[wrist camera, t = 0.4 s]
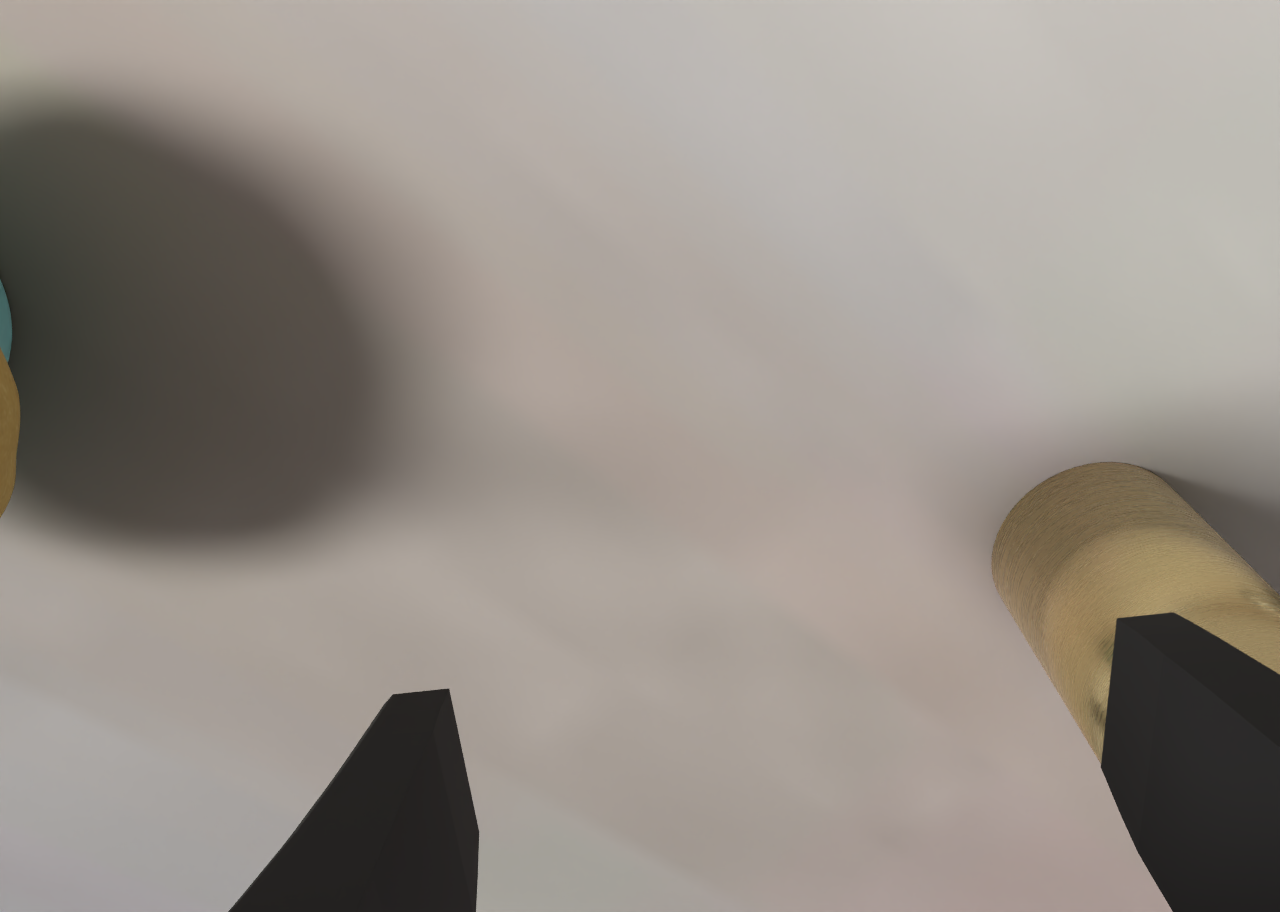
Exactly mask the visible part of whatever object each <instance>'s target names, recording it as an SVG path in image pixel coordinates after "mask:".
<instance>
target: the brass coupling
mask: <svg viewBox="0 0 1280 912" xmlns="http://www.w3.org/2000/svg"><path fill="white" fill-rule="evenodd" d="M992 574H993V580H994V583H995V586H996V589H997V591H998V593H999V595H1000V597H1001V598H1002V600H1003V602H1004V603H1005V605H1006V607H1007V608H1008V610H1009V612H1010V613H1011V615H1012V617H1013V618H1014V620H1015V622H1016V623H1017V625H1018V627H1019V628H1020V630H1021V632H1022V633H1023V635H1024V637H1025V638H1026V640H1027V642H1028V643H1029V645H1030V647H1031V648H1032V650H1033V652H1034V653H1035V655H1036V657H1037V658H1038V660H1039V662H1040V663H1041V665H1042V667H1043V668H1044V670H1045V672H1046V673H1047V675H1048V677H1049V678H1050V680H1051V682H1052V683H1053V685H1054V687H1055V688H1056V690H1057V692H1058V693H1059V695H1060V697H1061V698H1062V700H1063V702H1064V703H1065V705H1066V706H1067V708H1068V710H1069V711H1070V713H1071V715H1072V716H1073V718H1074V720H1075V721H1076V723H1077V725H1078V726H1079V728H1080V730H1081V731H1082V733H1083V735H1084V736H1085V738H1086V740H1087V741H1088V743H1089V745H1090V746H1091V748H1092V750H1093V751H1094V753H1095V755H1096V756H1097V758H1098V760H1099V761H1100V763H1101V760H1102V751H1103V741H1104V732H1105V723H1106V713H1107V704H1108V695H1109V685H1110V676H1111V667H1112V657H1113V648H1114V639H1115V629H1116V620H1117V618H1124V617H1133V616H1143V615H1152V614H1162V613H1171V612H1174V613H1176V614H1178V615H1180V616H1182V617H1183V618H1185V619H1187V620H1189V621H1191V622H1193V623H1194V624H1196V625H1198V626H1200V627H1201V628H1203V629H1205V630H1207V631H1208V632H1210V633H1212V634H1213V635H1215V636H1217V637H1219V638H1220V639H1222V640H1224V641H1225V642H1227V643H1229V644H1230V645H1232V646H1234V647H1235V648H1237V649H1239V650H1240V651H1242V652H1244V653H1245V654H1247V655H1248V656H1250V657H1252V658H1253V659H1255V660H1257V661H1258V662H1260V663H1262V664H1263V665H1265V666H1267V667H1268V668H1270V669H1272V670H1273V671H1275V672H1277V673H1278V674H1280V595H1279V594H1278V593H1277V592H1276V591H1275V590H1274V589H1273V588H1272V587H1271V586H1270V585H1269V584H1268V583H1267V582H1266V581H1265V580H1264V579H1263V578H1262V577H1261V576H1260V575H1259V574H1258V573H1257V572H1256V571H1255V570H1254V569H1253V568H1252V567H1251V566H1250V565H1249V564H1248V563H1247V562H1246V561H1245V560H1244V559H1243V558H1242V557H1241V556H1240V555H1239V554H1238V553H1237V552H1236V551H1235V550H1234V549H1233V548H1231V547H1230V546H1229V545H1228V544H1227V543H1226V542H1225V541H1224V540H1223V539H1222V538H1221V537H1220V536H1219V535H1218V534H1217V533H1216V532H1215V531H1214V530H1213V529H1212V528H1211V527H1210V526H1209V525H1208V524H1207V523H1206V522H1205V521H1204V520H1203V519H1202V518H1201V517H1200V516H1199V515H1198V514H1197V513H1196V512H1195V511H1194V510H1193V509H1192V508H1191V507H1190V506H1189V505H1188V504H1187V503H1186V502H1185V501H1184V500H1183V499H1182V498H1181V497H1180V496H1179V495H1178V494H1177V493H1176V492H1175V491H1174V490H1173V489H1172V488H1171V487H1170V486H1169V485H1168V484H1167V483H1166V482H1165V481H1164V480H1162V479H1161V478H1160V477H1159V476H1157V475H1155V474H1154V473H1152V472H1150V471H1148V470H1146V469H1143V468H1141V467H1138V466H1134V465H1130V464H1124V463H1115V462H1103V463H1093V464H1087V465H1083V466H1079V467H1074V468H1072V469H1069V470H1066V471H1063V472H1061V473H1059V474H1057V475H1055V476H1053V477H1051V478H1049V479H1047V480H1046V481H1044V482H1042V483H1041V484H1039V485H1038V486H1036V487H1035V488H1034V489H1032V490H1031V491H1030V492H1029V493H1027V494H1026V495H1025V496H1024V497H1023V498H1022V499H1021V500H1020V501H1019V502H1018V503H1017V504H1016V505H1015V507H1014V508H1013V509H1012V510H1011V512H1010V513H1009V514H1008V516H1007V517H1006V519H1005V521H1004V522H1003V524H1002V526H1001V528H1000V530H999V532H998V534H997V537H996V540H995V543H994V547H993V553H992Z"/></svg>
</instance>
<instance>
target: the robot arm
mask: <svg viewBox="0 0 1280 912" xmlns="http://www.w3.org/2000/svg"><path fill="white" fill-rule="evenodd" d="M1101 768H1102V771H1103V773H1104V776H1105V778H1106V780H1107V783H1108V785H1109V788H1110V790H1111V792H1112V795H1113V797H1114V800H1115V802H1116V804H1117V807H1118V809H1119V812H1120V814H1121V816H1122V818H1123V820H1124V823H1125V825H1126V827H1127V829H1128V831H1129V834H1130V836H1131V838H1132V840H1133V842H1134V845H1135V847H1136V849H1137V851H1138V853H1139V855H1140V857H1141V858H1142V860H1143V862H1144V863H1145V865H1146V867H1147V869H1148V870H1149V872H1150V874H1151V876H1152V877H1153V879H1154V881H1155V882H1156V884H1157V886H1158V887H1159V889H1160V891H1161V892H1162V894H1163V896H1164V897H1165V899H1166V901H1167V902H1168V904H1169V906H1170V907H1171V909H1172V911H1173V912H1280V674H1278V673H1277V672H1275V671H1273V670H1272V669H1270V668H1268V667H1267V666H1265V665H1263V664H1262V663H1260V662H1258V661H1257V660H1255V659H1253V658H1252V657H1250V656H1248V655H1247V654H1245V653H1244V652H1242V651H1240V650H1239V649H1237V648H1235V647H1234V646H1232V645H1230V644H1229V643H1227V642H1225V641H1224V640H1222V639H1220V638H1219V637H1217V636H1215V635H1213V634H1212V633H1210V632H1208V631H1207V630H1205V629H1203V628H1201V627H1200V626H1198V625H1196V624H1194V623H1193V622H1191V621H1189V620H1187V619H1185V618H1183V617H1182V616H1180V615H1178V614H1176V613H1174V612H1171V613H1162V614H1152V615H1143V616H1133V617H1124V618H1117V620H1116V629H1115V639H1114V648H1113V657H1112V667H1111V676H1110V685H1109V695H1108V704H1107V713H1106V723H1105V732H1104V741H1103V751H1102V760H1101ZM478 849H479V829H478V825H477V820H476V815H475V810H474V806H473V801H472V796H471V791H470V786H469V782H468V777H467V772H466V767H465V763H464V758H463V753H462V748H461V744H460V739H459V734H458V729H457V724H456V720H455V715H454V710H453V705H452V701H451V696H450V691H449V689H441V690H431V691H422V692H412V693H403V694H393V695H392V696H391V697H390V698H389V700H388V701H387V702H386V703H385V704H384V706H383V707H382V708H381V710H380V711H379V713H378V714H377V716H376V717H375V719H374V720H373V722H372V723H371V725H370V726H369V728H368V729H367V731H366V732H365V733H364V735H363V736H362V738H361V739H360V741H359V742H358V744H357V745H356V747H355V748H354V750H353V751H352V752H351V754H350V755H349V757H348V758H347V760H346V761H345V763H344V764H343V765H342V767H341V768H340V770H339V771H338V773H337V774H336V775H335V777H334V778H333V780H332V781H331V782H330V784H329V785H328V787H327V788H326V789H325V791H324V792H323V793H322V795H321V796H320V797H319V799H318V800H317V801H316V803H315V804H314V805H313V807H312V808H311V809H310V811H309V812H308V814H307V815H306V816H305V818H304V819H303V820H302V822H301V823H300V824H299V826H298V827H297V828H296V830H295V831H294V832H293V834H292V835H291V836H290V838H289V839H288V840H287V841H286V843H285V844H284V845H283V846H282V848H281V849H280V850H279V851H278V853H277V854H276V855H275V856H274V858H273V859H272V860H271V861H270V862H269V864H268V865H267V866H266V867H265V868H264V870H263V871H262V872H261V873H260V874H259V876H258V877H257V878H256V879H255V880H254V882H253V883H252V884H251V885H250V887H249V888H248V889H247V890H246V891H245V893H244V894H243V895H242V896H241V897H240V899H239V900H238V901H237V902H236V903H235V905H234V906H233V907H232V908H231V909H230V910H229V911H228V912H476V898H477V877H478Z"/></svg>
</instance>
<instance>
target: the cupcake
mask: <svg viewBox="0 0 1280 912" xmlns="http://www.w3.org/2000/svg"><path fill="white" fill-rule="evenodd" d="M11 343H12V321H11V313H10V308H9V304H8V300H7V296H6V293H5V290H4V287H3V284H2V282H1V280H0V517H1V516H2V514H3V512H4V511H5V509H6V507H7V505H8V503H9V500H10V498H11V495H12V492H13V488H14V484H15V477H16V454H17V446H18V438H19V430H20V402H19V393H18V390H17V386H16V384H15V381H14V378H13V376H12V373H11V371H10V368H9V366H8V360H9V356H10V351H11Z"/></svg>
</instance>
